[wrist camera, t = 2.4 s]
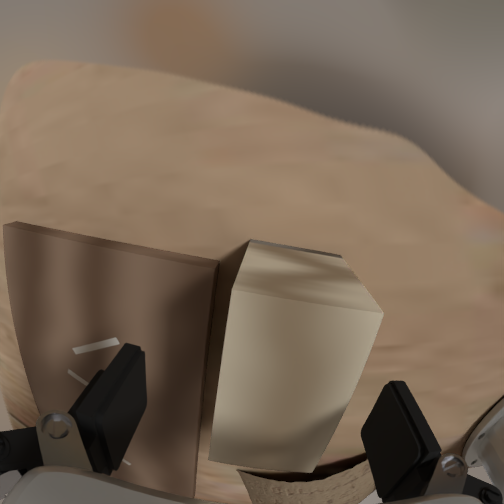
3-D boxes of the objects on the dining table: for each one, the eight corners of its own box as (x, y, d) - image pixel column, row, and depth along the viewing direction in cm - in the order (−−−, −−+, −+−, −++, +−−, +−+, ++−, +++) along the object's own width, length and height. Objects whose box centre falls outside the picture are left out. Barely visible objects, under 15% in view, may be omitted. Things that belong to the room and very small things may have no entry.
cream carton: (340, 254, 16) (383, 313, 9) (303, 383, 19) (311, 472, 11) (250, 238, 17) (232, 289, 9) (229, 372, 19) (208, 460, 12)
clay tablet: (386, 438, 20) (393, 461, 18) (380, 489, 23) (384, 507, 20) (224, 463, 22) (219, 485, 20) (250, 508, 25) (248, 526, 22)
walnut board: (219, 260, 17) (214, 269, 15) (194, 494, 23) (192, 505, 22) (16, 221, 17) (3, 225, 16) (63, 447, 24) (57, 455, 22)
